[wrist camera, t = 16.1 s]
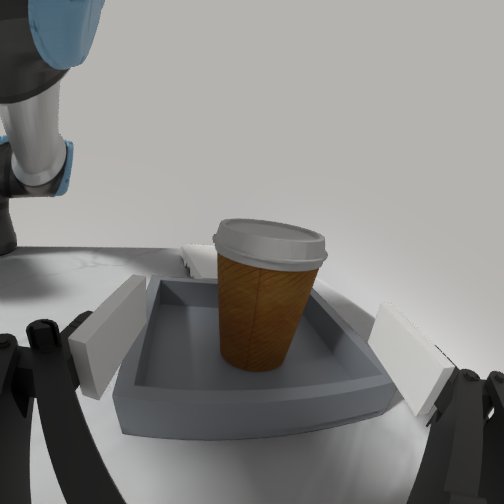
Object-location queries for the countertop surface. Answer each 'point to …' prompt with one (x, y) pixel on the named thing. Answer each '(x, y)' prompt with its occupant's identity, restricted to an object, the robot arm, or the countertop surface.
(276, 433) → the tray
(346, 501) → the countertop surface
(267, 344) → the disposable coffee cup
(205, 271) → the food packaging
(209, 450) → the countertop surface
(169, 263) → the countertop surface
